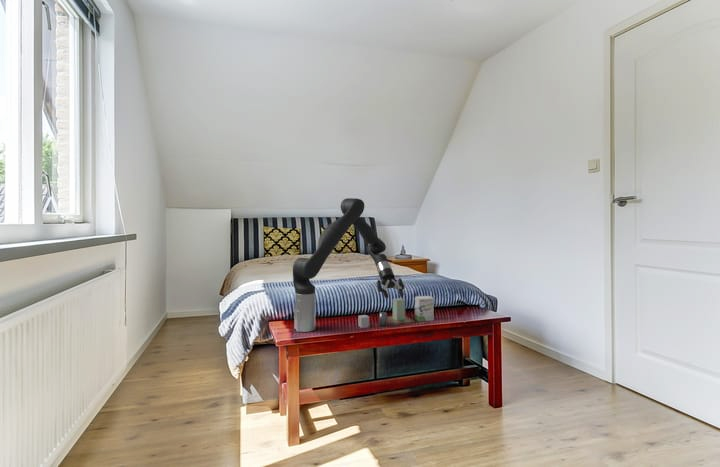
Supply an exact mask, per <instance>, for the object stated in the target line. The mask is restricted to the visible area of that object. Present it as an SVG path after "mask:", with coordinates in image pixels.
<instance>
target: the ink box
mask: <svg viewBox="0 0 720 467" xmlns="http://www.w3.org/2000/svg"><path fill="white" fill-rule="evenodd" d="M434 299H435V298H434V297H433V296H431V295H421V296H415V297H414V320H415V321H417V322H428V321H434V320H435V318H434V317H435V316H434V312H435V311H434V309H435V305H434V302H435V301H434Z"/></svg>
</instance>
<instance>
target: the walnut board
mask: <svg viewBox="0 0 720 467" xmlns="http://www.w3.org/2000/svg"><path fill="white" fill-rule="evenodd" d="M386 323H389V324H390V325H392V326H400V325H401V324H402V325H408V324H416V320H415V319H412V318H410V317H408V316H406V315H405V320H398V321H397V320H395V319H393V315H391V316H387V320H386Z"/></svg>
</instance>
